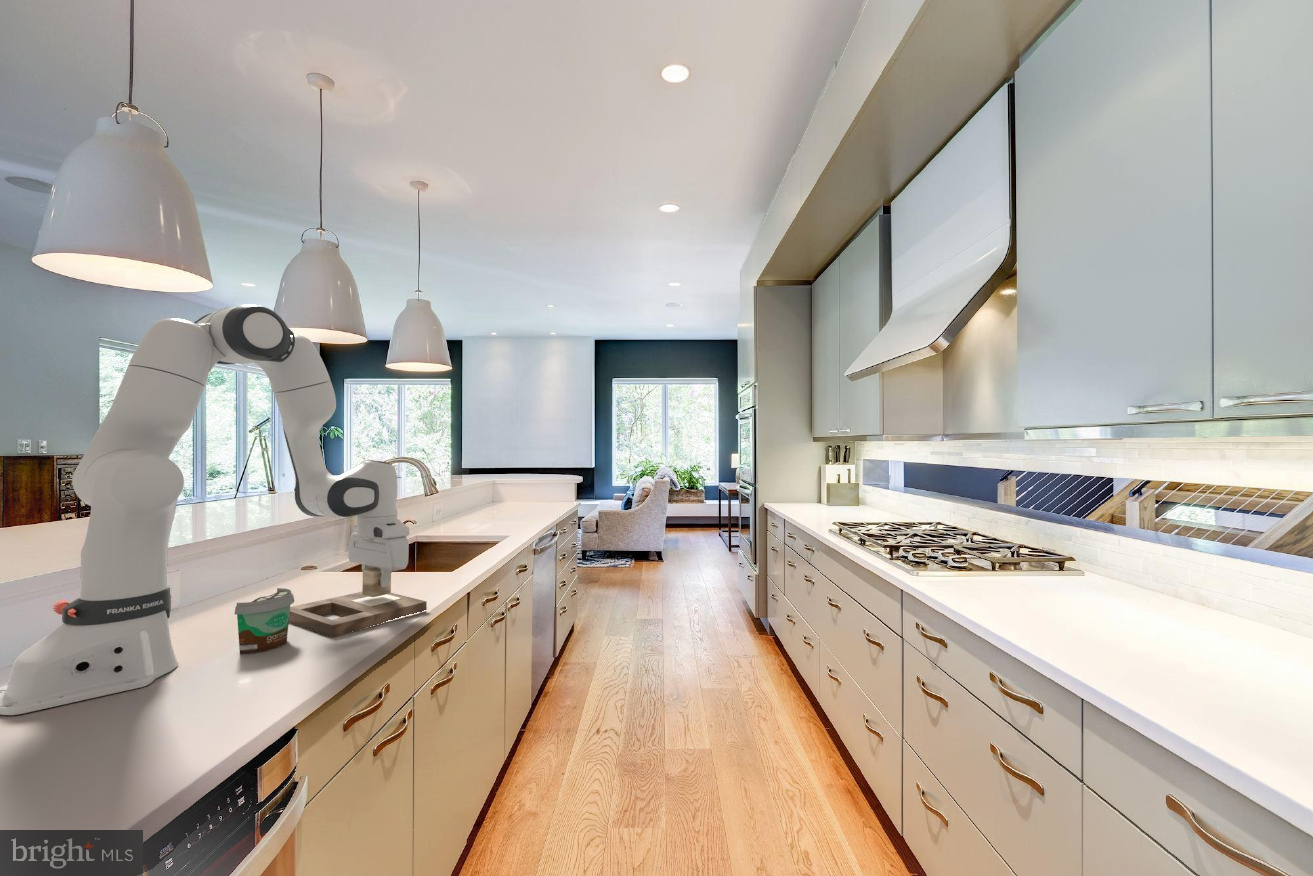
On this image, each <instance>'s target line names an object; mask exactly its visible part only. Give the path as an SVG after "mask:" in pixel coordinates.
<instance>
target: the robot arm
mask: <svg viewBox="0 0 1313 876" xmlns="http://www.w3.org/2000/svg"><path fill="white" fill-rule="evenodd" d="M315 346H316V345H314V343H313V342H312V341H311V340H310V339H309V338H307V337H306V336H304V335H300V334H294V332H293V331H292V329H291V328H290V327H288V325H287V324H286V322H285V321H284V320H283V318H282V317H280V315H278V314H277V313H276V312H275V311H274V310H272V309H271V308H269V307H265V306H262V305H257V304H241V305H238V306H230V307H229V306H228V307H224V308H221V309H218V310H216V311H213V312H210V313H208V314H207V313H206V315H203V316H202V317H200V318H198V319H197V320H195V321H193V322H192V321H190V320H186V319H182V318H172V317H171V318H163V319H159V320H157V321H155V322H154V323H152V325H151V326H150V327H149V329H148V330H147V331H146V333H145V334H144V335H143V337H142V338H141V340H140V341H139V343H138V345H137V347H136V348H135V350H134V352H133V354H132V355H131V358H130V360H129V363H128V365H127V367H126V369H125V373H124V374H123V376H122V380H121V382H120V385H119V387H118V390H117V391H116V395H115V396H114V399H113V402H112V404H111V405H110V408H109V411H108V412H107V414H106V416H105V417H104V419H103V421H102V422H101V423H100V425H99V427H98V429H97V431H96V432H95V434H94V435H93V437H92V439H91V440H90V442H89V445H88V446H87V447H86V449H85V452H84V454H83V455H82V458H81V459H80V461H79V464H78V465H77V467H76V469H75V470H74V471H73V474H72V479H71V481H72V483H71V484H72V487H73V490H74V492H75V494H76V496H77V497H78V498H79V499H80V501H82V502H83V503H85V504H86V505H87V506H89V507H90V514H89V520H88V526H87V531H86V535H85V539H84V542H83V543H84V544H83V546H82V547H81V550H80V581H79V583H80V584H79V586H80V587H79V591H80V592H79V593H80V594H79V597H78V598H76V599H74V600H73V601H71V602H69V601H67V600H59V601H57V602H55V604H54V605H53V607H52V611H53V612H55V613H56V614H58V615H61V616H62V617H61V618H62V619H61V621H62V622H61V623H63V624H61V625H60V626H58V627H57V628H55V629H54V630H52V631H50V633H48V634H47V635H45V636H44V637H43V638H41V639H40V640H38V641H37V642H35V643H34V644H33V645H31V646H29V647H28V648H26V649H25V650H23V651H22V652H20V654H18V656H17V657H16V659H15V660H14V662H13V665H12V666H11V669H10V673H9V677H8V681H7V684H6V685H2V686H0V715H2V716H15V715H22V714H27V713H32V712H36V711H41V710H43V709H48V708H49V709H50V708H53V707H58V706H63V705H67V704H72V703H76V702H81V701H85V700H90V699H94V698H99V697H103V696H108V695H113V694H116V693H121V692H125V691H130V690H131V691H132V690H134V689H138V688H143V687H146V686H148V685H150V684H152V683H153V682H154V680H156V679H158V678H159V677H162V676H164V675H165V674H168V673H169V672H172V671H173V670H174V669H176V668H177V666H178V664H179V661H178V660H177V657H176V654H175V652H174V649H173V644H172V639H171V638H172V637H171V633H170V627H169V625H170V624H169V618H170V617H171V611H172V594H171V588H170V587H169V586H168V562H169V561H168V559H169V558H168V557H169V556H168V555H169V544H170V543H169V542H170V537H171V536H170V535H171V531H172V527H173V523H174V519H175V516H176V515H175V514H176V510H177V504H178V499H179V497H180V496H181V494H182V491H183V490H184V485H185V478H184V475H183V472H182V470H181V468H180V467H179V466H178V465H177V464H176V463H175V462H174V461H173V460H172V459H170V456H171V454H172V453H173V451H174V450H175V447H176V446H177V445H178V443H179V441H180V440H181V438H182V437H183V436H184V434H185V433H187V431H188V430H189V429H190V427H191V425H192V423H193V419H194V417H195V414H196V412H197V409H198V406H199V404H200V403H199V402H200V400H201V397H202V395H203V392H204V389H205V387H206V383H207V380H208V378H209V374H210V372H211V371H212V369H213V368H214V366H215V365H216V364H217V365H235V364H242V365H243V364H252V363H254V364H255V365H257V366H259V368H261V369H262V370H263V372H264V373H265V375H266V377H267V378H268V380H269V385H270V387H271V390H272V393H273V395H274V398H275V402H276V403H277V407H278V410H279V414H280V417H281V423H282V428H283V429H282V431H283V433H284V439H285V442H286V447H287V450H288V453H289V456H290V461H291V464H292V465H291V466H292V468H293V471H294V472H293V473H294V477H295V479H294V480H295V483H294V484H295V485H294V500H295V504H296V506H297V508H298V509H299V510H300V511H301V513H303V514H305V515H307V516H310V517H314V518H315V517H316V518H318V517H321V518H322V517H327V518H328V517H330V518H342V519H344V518H351V517H354V516H356V525H355V526H354V528H353V530H352V533H351V534H350V535H349V539H348V540H349V542H348V547H347V548H348V549H347V550H348V551H347V557H348V558H347V559H348V561H349V562H350V563H354V564H359V565H361V570H362V572H363V570H364V569H369V568H375V567H377V568H381V573H382V575H381V578H380V579H378V582H379V583H378V585H379V586H381V587H386V586H388V585H389V578H390V575H391V576H392V573H393V572H394V571H400V570H405V569H406V568H407V566H408V565H409V554H410V553H409V550H410V545H409V540H408V538H407V537H409V535H410V527H409V526H407V524H405V523H404V522H402V521H401V520H400V519H399V518H398V510H397V505H396V504H397V500H398V493H399V492H398V491H399V489H398V488H399V487H398V476H397V471H396V468H395V466H394V465H393V464H392V463H390V462H387V461H383V460H382V461H381V460H375V459H374V460H373V459H364V460H362V461H361V462H360V463H359V464H358V465H356V466H355V467H354V468H351V469H350V470H348V471H345V472H343V473H341V474H339V475H335V474H334V475H333V474H332V473H330V472H329V471H328V469H327V468H326V465H325V461H324V457H323V453H322V448H321V446H320V445H321V444H320V442H319V434H320V432H321V429H322V428H323V425H325V424H326V423H327V422H328V421H329V420H330V419H331V418H332V417H333V415H334V413H335V412H336V409H337V398H336V393H335V390H334V387H333V383H332V381H331V377H330V374H329V372H328V370H327V367H326V365H325V363H324V361H323V358H322V357H321V355H320V353H319V351H318V350H317V347H315Z"/></svg>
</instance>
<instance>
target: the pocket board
mask: <svg viewBox="0 0 1313 876" xmlns="http://www.w3.org/2000/svg"><path fill="white" fill-rule="evenodd" d="M427 604H428V603H427V600H422V599H418V598H414V597H412V596H406V595H402V594H398V593H394V592H393V593H392V592H391V593H390V594H386V595H382V596H377V597H369V596H365V595H362V591H358V592H353V593H349V594H344V595H339V596H335V597H330V598H324V599H322V600H321V599H320V600H316V601H312V602H307V603H302V604H298V605H293V606H290V614H289V623H291V624H294V625H296V626H298V627H302V628H305V629H307V630H311V631H312V632H316V633H319V634H321V635H323V636H324V635H325V636H327V637H330V638H336V637H340V636H342V635H343V636H344V635H347V634H350V632H351V633H353V632H352V631H354V632H358V631H361V630H360V629H362V630H365V629H367V628H366V627H369V628H371V627H370V626H373V625H376V626H378V625H377V624H380V625H382V624H381V623H383V622H386V621H388V620H393V619H395V618H399V617H401V616H406V615H409V614H414V613H417V612H422V611H424V610H427V609H428V607H427ZM328 614H333V615H334V614H335V615H338V616H340V617H337V618H334V619H331V618H328V617H325V616H324V615H328ZM343 616H344V617H343ZM373 627H374V626H373ZM364 628H365V629H364ZM346 633H347V634H346ZM339 635H340V636H339Z"/></svg>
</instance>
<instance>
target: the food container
mask: <svg viewBox="0 0 1313 876" xmlns="http://www.w3.org/2000/svg"><path fill="white" fill-rule="evenodd" d="M294 603H295V597H294V594H293V592H292V590H291V589H289V588H284V587H282V588H281V587H280V588H279V587H277V588H276V592H275V593H272V594H270V595H267V596H260V597H257V598H255V599H254V600H252V601H249V602H246V601H245V602H236V606H235V607H234V608H235V609H234V615H236V620H237V632H238V633H237V634H238V647H239V649H238V650H239V655H250V654H258V653H262V652H263V653H264V652H267V651H272V650H275V649H277V648H281V647H282V646H284V645H286V643H287V641H288V634H289V633H288V632H289V623H290V622H289V614H290V607H291V605H293V604H294ZM257 652H258V653H257Z"/></svg>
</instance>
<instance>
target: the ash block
mask: <svg viewBox="0 0 1313 876" xmlns="http://www.w3.org/2000/svg"><path fill="white" fill-rule="evenodd" d="M381 575H382V573H381V568H377V567H373V568H369V569H364V570H363V571H362V591H361V592H362V595H365V596H369V597H377V596H382V595H386V594H390V593H392V574H391V575H390V578H389V585H388V586H386V587H381V586H379V585H378V583H379V582H378V579H380V578H381Z"/></svg>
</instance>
